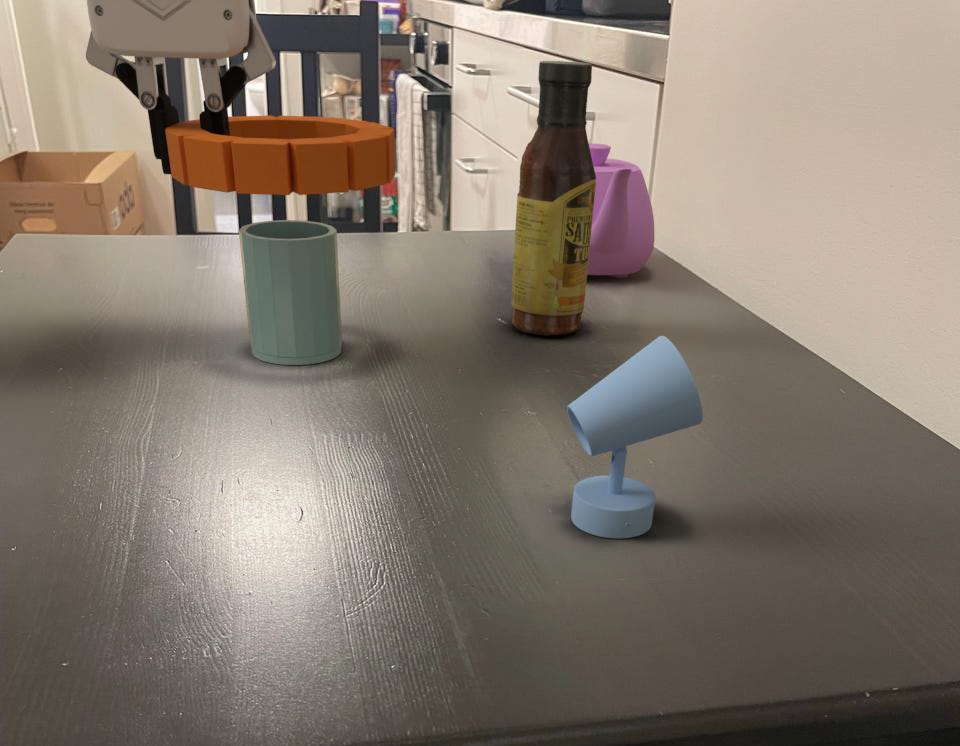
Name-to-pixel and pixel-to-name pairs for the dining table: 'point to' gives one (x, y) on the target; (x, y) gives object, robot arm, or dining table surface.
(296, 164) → the ring
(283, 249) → the teal cup
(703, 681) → the dining table surface
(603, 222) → the teapot
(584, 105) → the sauce bottle
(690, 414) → the spotlight
